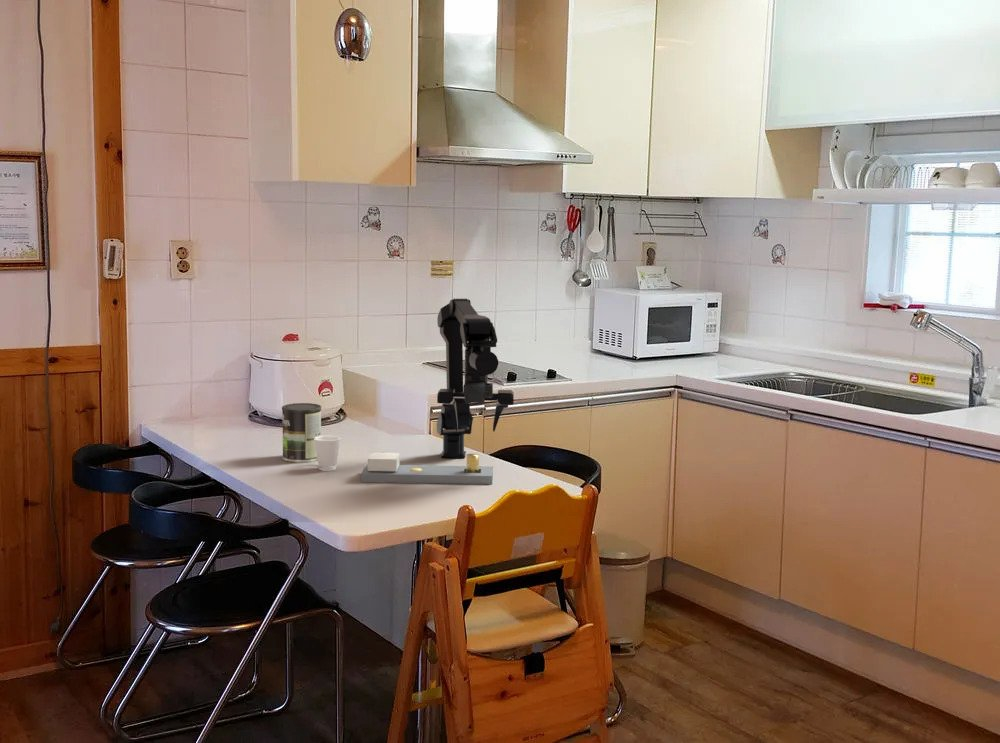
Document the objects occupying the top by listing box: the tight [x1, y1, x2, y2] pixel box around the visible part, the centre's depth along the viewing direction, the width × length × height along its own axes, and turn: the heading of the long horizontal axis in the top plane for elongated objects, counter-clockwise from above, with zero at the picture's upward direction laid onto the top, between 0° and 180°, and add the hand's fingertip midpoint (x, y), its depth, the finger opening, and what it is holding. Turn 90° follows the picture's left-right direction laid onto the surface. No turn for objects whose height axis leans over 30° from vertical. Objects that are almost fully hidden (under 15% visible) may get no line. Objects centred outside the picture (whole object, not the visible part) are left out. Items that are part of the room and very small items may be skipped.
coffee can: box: [281, 402, 322, 464], centre depth 273 cm, size 10×10×14 cm
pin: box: [466, 453, 480, 473], centre depth 255 cm, size 3×3×6 cm
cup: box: [314, 435, 341, 472], centre depth 264 cm, size 7×10×8 cm
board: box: [360, 463, 494, 485], centre depth 255 cm, size 10×32×2 cm, turn 90°
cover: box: [367, 452, 400, 471], centre depth 255 cm, size 7×7×3 cm
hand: (475, 430), depth 256 cm, fingers open, 9 cm apart
